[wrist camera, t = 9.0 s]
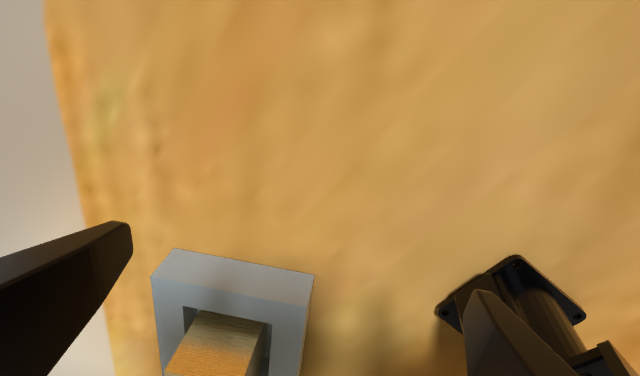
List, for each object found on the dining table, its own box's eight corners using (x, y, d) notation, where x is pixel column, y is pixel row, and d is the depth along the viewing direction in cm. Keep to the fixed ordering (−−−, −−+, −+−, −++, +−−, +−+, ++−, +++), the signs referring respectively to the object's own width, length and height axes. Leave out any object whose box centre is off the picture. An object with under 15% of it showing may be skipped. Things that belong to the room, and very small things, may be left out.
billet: (268, 307, 25) (238, 390, 20) (266, 350, 27) (237, 436, 22) (208, 295, 26) (162, 374, 20) (209, 338, 28) (168, 420, 22)
